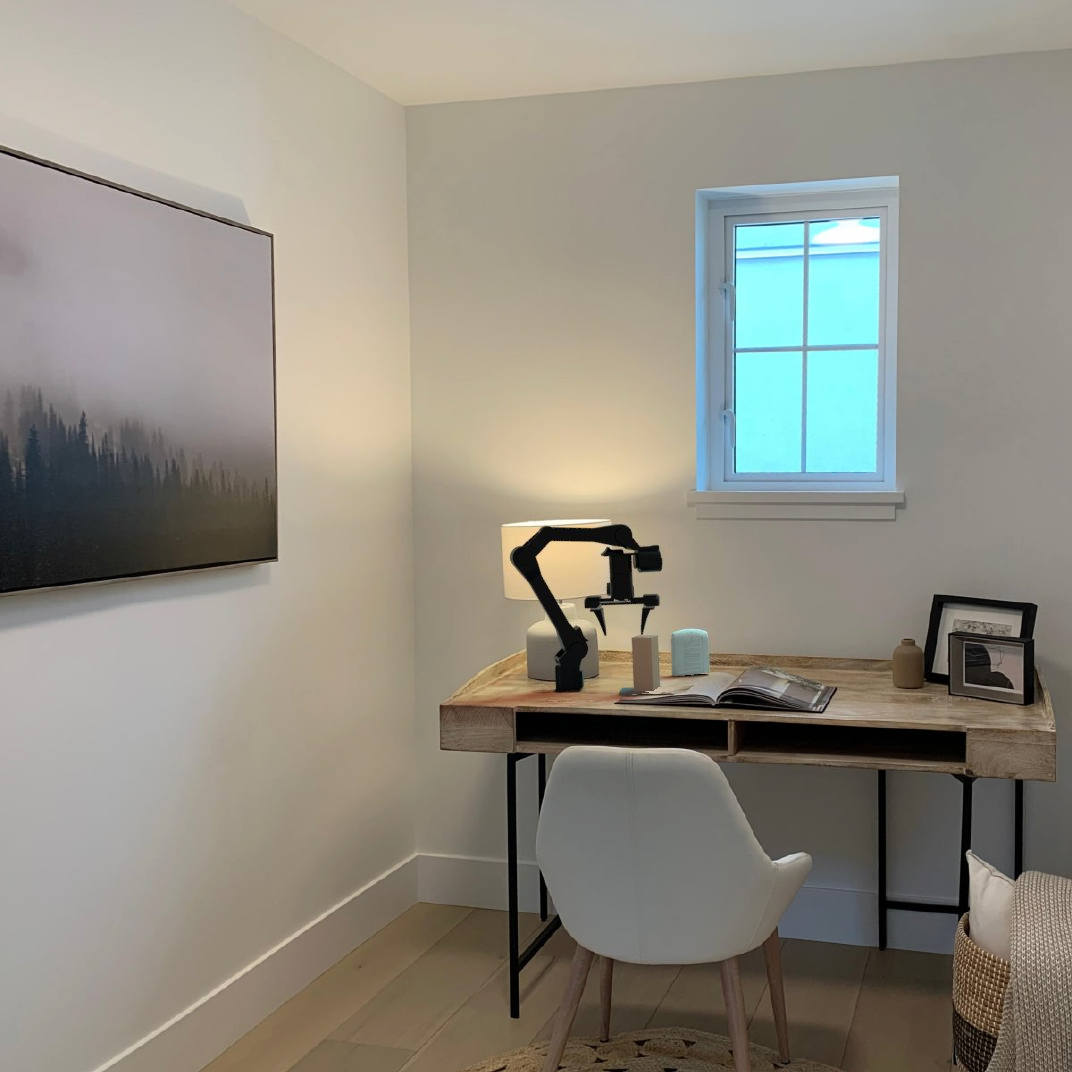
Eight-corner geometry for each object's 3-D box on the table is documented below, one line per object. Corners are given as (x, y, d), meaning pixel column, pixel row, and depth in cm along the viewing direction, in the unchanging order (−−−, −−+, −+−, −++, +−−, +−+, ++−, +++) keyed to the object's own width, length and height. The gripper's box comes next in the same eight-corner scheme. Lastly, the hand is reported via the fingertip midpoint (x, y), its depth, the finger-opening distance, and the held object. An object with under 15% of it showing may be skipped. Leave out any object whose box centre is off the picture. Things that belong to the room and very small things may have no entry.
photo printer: (707, 673, 320) (705, 627, 320) (712, 675, 316) (710, 628, 316) (670, 675, 319) (668, 629, 319) (674, 677, 315) (672, 630, 314)
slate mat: (619, 695, 288) (619, 693, 288) (622, 689, 297) (622, 687, 297) (673, 694, 286) (673, 692, 286) (674, 688, 295) (674, 686, 295)
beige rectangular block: (633, 691, 290) (631, 637, 290) (641, 687, 295) (638, 635, 294) (653, 691, 288) (651, 637, 288) (660, 688, 292) (658, 635, 292)
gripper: (659, 570, 308) (662, 630, 308) (587, 573, 311) (590, 633, 311) (657, 572, 297) (660, 635, 297) (582, 575, 300) (585, 637, 300)
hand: (623, 635), depth 302 cm, fingers open, 9 cm apart
